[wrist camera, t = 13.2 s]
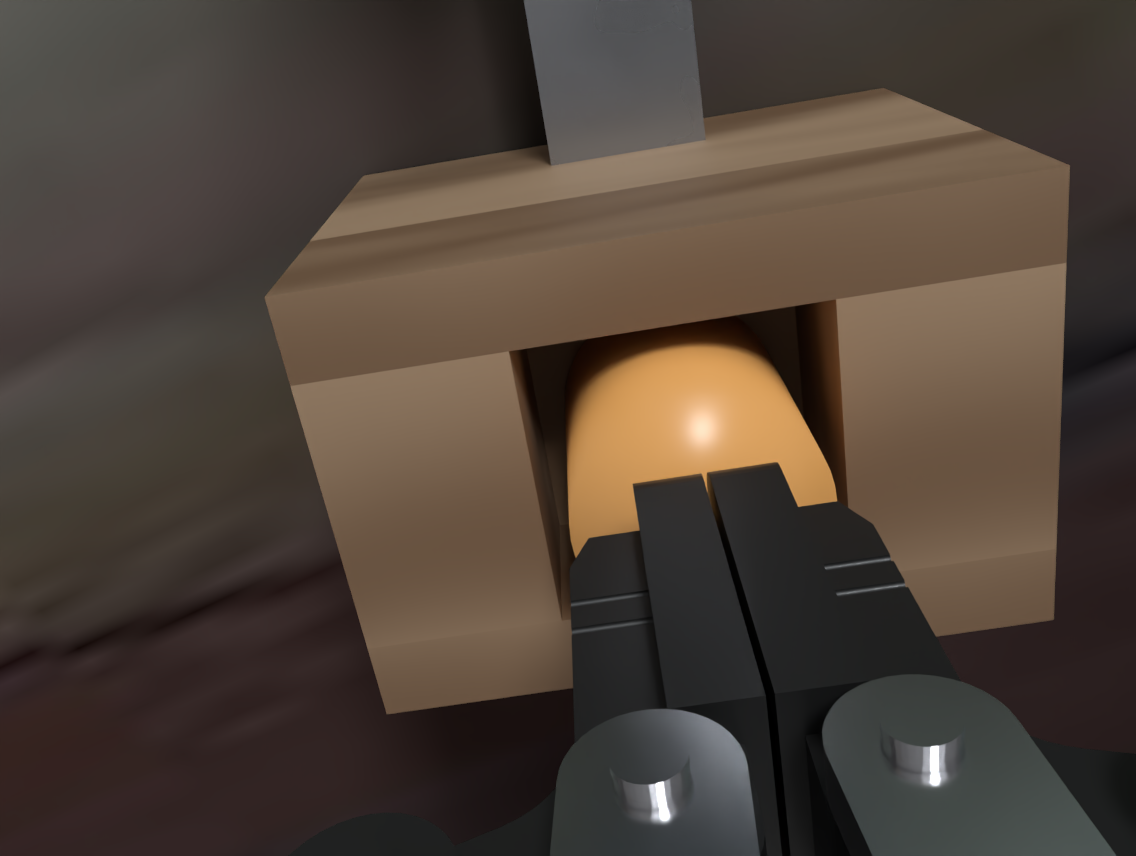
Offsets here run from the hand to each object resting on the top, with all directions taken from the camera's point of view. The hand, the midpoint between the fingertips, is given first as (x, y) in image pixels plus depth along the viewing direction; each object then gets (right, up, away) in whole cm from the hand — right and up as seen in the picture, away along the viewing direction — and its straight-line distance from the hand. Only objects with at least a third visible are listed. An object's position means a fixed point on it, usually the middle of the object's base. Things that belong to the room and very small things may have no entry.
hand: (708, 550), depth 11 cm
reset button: (0, +2, +4) cm, 4 cm away
